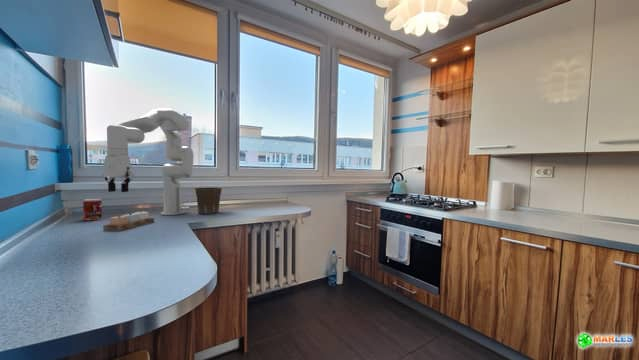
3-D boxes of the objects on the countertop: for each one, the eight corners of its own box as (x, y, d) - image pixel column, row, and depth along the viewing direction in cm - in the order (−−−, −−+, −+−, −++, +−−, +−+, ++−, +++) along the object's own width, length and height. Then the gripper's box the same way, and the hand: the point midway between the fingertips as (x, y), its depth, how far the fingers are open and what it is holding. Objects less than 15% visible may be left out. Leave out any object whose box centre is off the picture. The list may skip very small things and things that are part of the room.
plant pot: (222, 210, 177) (222, 187, 176) (222, 214, 161) (222, 188, 161) (196, 211, 171) (196, 187, 170) (193, 215, 156) (193, 189, 155)
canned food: (85, 221, 136) (85, 200, 136) (81, 219, 141) (81, 199, 140) (104, 219, 142) (103, 199, 142) (99, 217, 147) (99, 198, 147)
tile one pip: (140, 218, 135) (140, 211, 135) (148, 218, 135) (148, 211, 135) (133, 220, 131) (132, 212, 130) (141, 220, 130) (141, 212, 130)
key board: (139, 221, 137) (139, 217, 137) (153, 222, 136) (153, 217, 136) (103, 230, 117) (103, 225, 117) (120, 231, 116) (120, 225, 116)
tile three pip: (118, 223, 122) (118, 215, 122) (127, 223, 122) (127, 215, 122) (110, 225, 118) (109, 217, 118) (119, 225, 117) (119, 217, 117)
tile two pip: (130, 220, 129) (130, 213, 129) (138, 221, 128) (138, 213, 128) (122, 222, 124) (122, 214, 124) (130, 223, 124) (130, 214, 124)
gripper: (93, 152, 116) (93, 192, 117) (128, 152, 114) (128, 192, 115) (108, 153, 123) (109, 190, 124) (141, 153, 121) (142, 191, 122)
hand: (118, 191), depth 119 cm, fingers open, 5 cm apart
